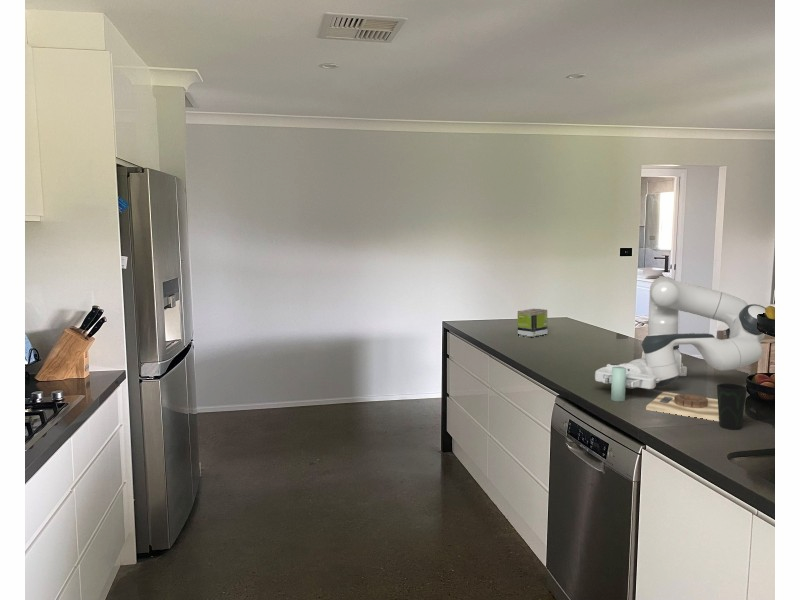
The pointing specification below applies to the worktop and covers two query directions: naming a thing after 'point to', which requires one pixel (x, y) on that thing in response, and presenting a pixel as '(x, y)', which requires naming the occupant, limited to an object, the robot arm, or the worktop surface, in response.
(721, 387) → the cup
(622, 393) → the peg
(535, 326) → the tea box
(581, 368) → the worktop surface
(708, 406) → the socket board
